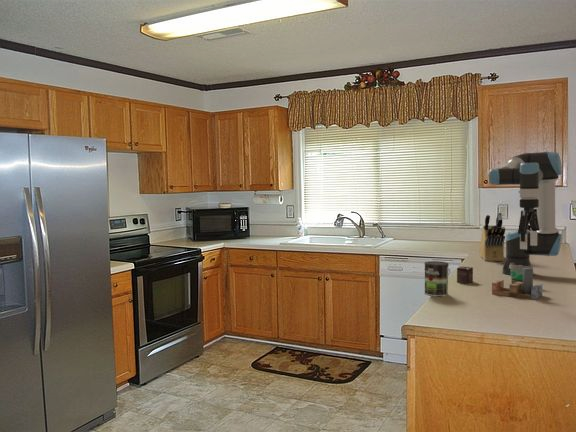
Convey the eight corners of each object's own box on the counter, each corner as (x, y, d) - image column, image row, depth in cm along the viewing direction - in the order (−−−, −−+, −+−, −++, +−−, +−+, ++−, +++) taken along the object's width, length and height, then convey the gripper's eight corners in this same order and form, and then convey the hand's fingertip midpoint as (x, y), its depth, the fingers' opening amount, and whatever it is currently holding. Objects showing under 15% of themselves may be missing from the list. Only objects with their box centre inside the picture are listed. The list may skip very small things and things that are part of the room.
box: (461, 280, 264) (461, 266, 263) (473, 281, 260) (473, 267, 260) (456, 282, 259) (456, 267, 259) (468, 283, 255) (468, 268, 255)
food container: (503, 283, 254) (503, 263, 254) (512, 282, 256) (513, 262, 256) (522, 288, 243) (522, 266, 242) (532, 287, 245) (533, 266, 244)
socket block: (500, 290, 238) (500, 279, 238) (542, 295, 226) (542, 284, 226) (491, 294, 231) (492, 282, 230) (535, 299, 219) (535, 287, 218)
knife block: (486, 263, 317) (487, 212, 315) (478, 255, 351) (479, 209, 350) (506, 263, 315) (507, 212, 313) (496, 255, 349) (496, 209, 347)
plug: (524, 294, 228) (524, 267, 227) (533, 296, 225) (534, 268, 225) (521, 296, 225) (521, 268, 224) (530, 297, 223) (531, 269, 222)
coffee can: (441, 297, 225) (441, 265, 224) (420, 294, 232) (420, 263, 232) (452, 294, 232) (452, 262, 232) (432, 290, 240) (432, 260, 239)
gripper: (529, 197, 237) (528, 243, 239) (510, 199, 219) (509, 250, 220) (547, 197, 232) (546, 244, 234) (528, 200, 214) (528, 251, 215)
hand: (528, 247), depth 227 cm, fingers open, 13 cm apart
